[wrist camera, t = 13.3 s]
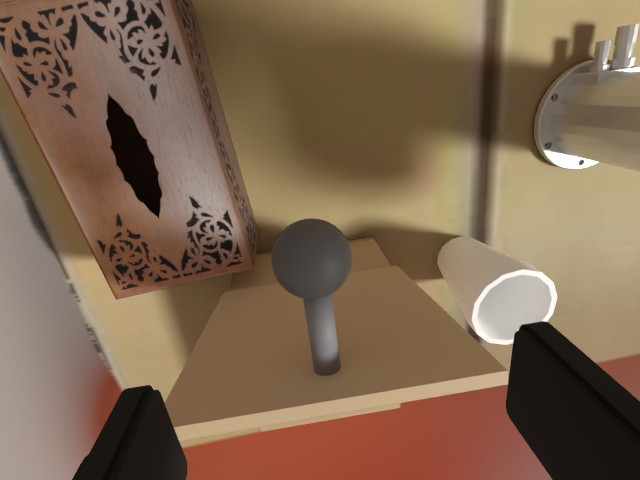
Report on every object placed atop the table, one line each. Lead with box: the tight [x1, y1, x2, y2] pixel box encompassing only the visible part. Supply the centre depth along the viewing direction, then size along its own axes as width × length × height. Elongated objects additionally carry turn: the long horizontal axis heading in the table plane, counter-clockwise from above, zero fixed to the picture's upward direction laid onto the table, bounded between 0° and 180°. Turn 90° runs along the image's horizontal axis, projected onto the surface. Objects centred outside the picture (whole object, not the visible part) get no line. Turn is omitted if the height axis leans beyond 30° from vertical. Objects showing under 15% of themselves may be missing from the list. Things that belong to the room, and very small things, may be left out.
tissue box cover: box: [0, 0, 259, 300], centre depth 36 cm, size 26×14×10 cm, turn 11°
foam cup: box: [437, 236, 557, 345], centre depth 44 cm, size 10×9×13 cm
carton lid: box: [165, 219, 508, 441], centre depth 27 cm, size 20×18×10 cm
